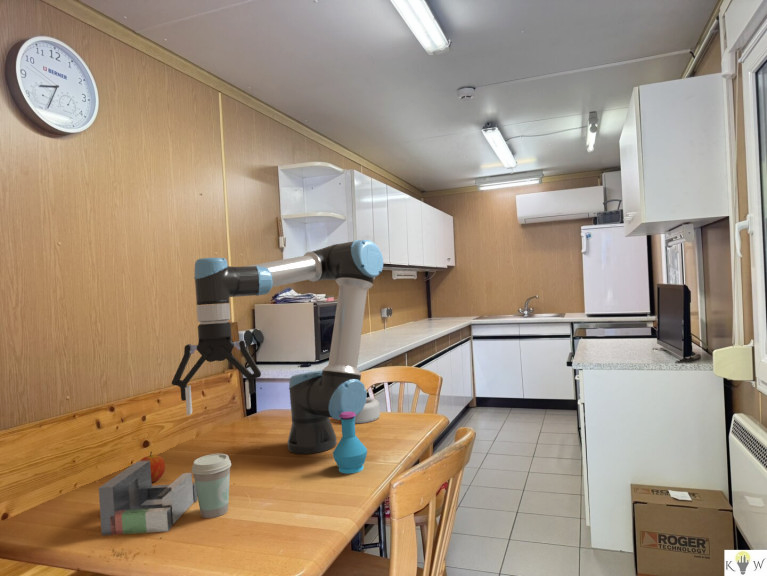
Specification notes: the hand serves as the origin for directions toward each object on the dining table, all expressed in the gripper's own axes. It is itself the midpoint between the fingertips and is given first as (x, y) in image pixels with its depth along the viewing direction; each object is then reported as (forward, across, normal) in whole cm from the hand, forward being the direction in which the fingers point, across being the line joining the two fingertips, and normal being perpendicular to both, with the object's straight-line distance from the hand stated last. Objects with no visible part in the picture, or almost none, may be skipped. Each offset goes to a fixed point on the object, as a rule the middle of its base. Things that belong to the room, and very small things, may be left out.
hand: (219, 410), depth 119 cm
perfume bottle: (+21, -32, -8) cm, 39 cm away
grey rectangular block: (+21, +13, +6) cm, 25 cm away
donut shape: (+21, -42, -59) cm, 75 cm away
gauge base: (+21, +15, +4) cm, 26 cm away
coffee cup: (+21, +1, +7) cm, 22 cm away
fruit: (+21, +21, -20) cm, 36 cm away
